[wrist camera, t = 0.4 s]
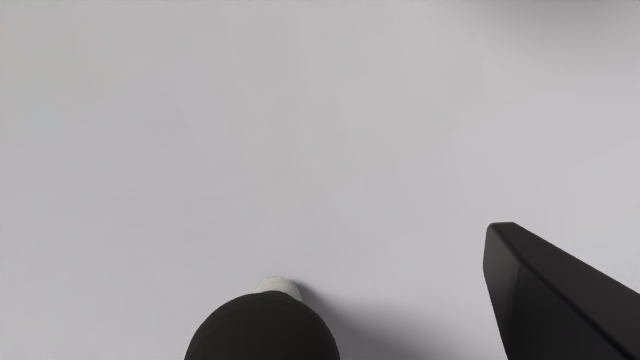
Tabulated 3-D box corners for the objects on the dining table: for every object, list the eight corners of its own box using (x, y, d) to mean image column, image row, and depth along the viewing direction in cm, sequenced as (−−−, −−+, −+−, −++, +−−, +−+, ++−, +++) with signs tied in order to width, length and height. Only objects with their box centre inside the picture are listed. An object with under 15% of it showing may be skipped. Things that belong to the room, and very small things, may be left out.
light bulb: (317, 223, 25) (315, 321, 15) (349, 328, 26) (366, 480, 17) (205, 255, 26) (133, 369, 16) (241, 357, 27) (195, 522, 17)
